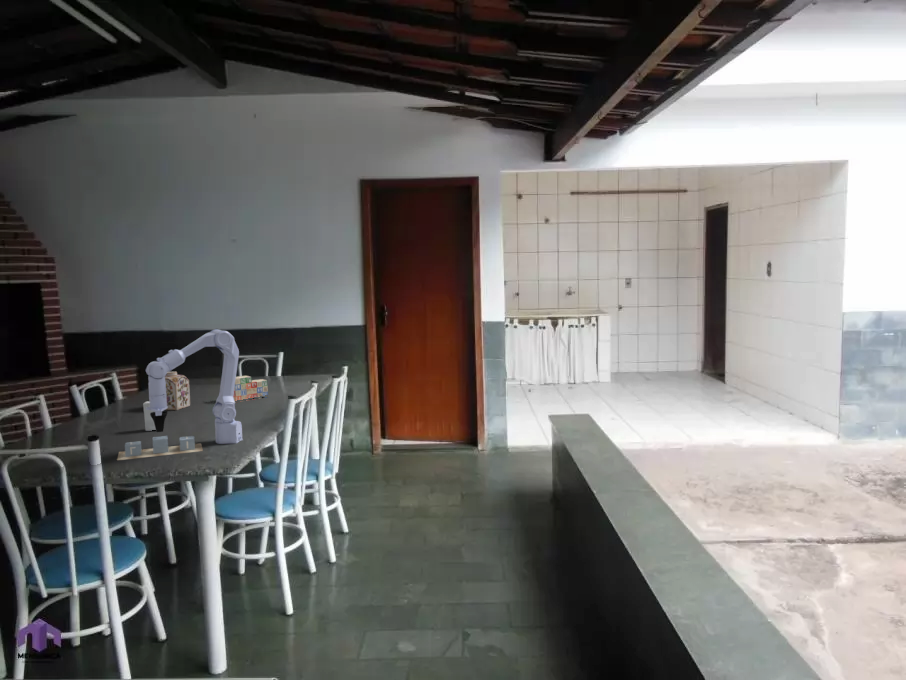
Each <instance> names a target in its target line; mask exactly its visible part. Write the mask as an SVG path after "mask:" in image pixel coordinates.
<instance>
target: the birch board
mask: <svg viewBox="0 0 906 680" xmlns="http://www.w3.org/2000/svg"><path fill="white" fill-rule="evenodd" d="M197 452H203V446H202V443H195V449H194V450H184V451H180V445H174V446H173V445H172V446H168V452H166V453H157V454H153V447H152V448H145V449H144V448H143V449H142V448H141V455H139V456H130V457H126V456H125V450H124V451H118V455H117V458H116V460H117V461H124V460H135V459H143V458H144V459H145V458H150V457H151V458H152V457H160V456H168V455H178V454H179V455H180V454H188V453H197Z"/></svg>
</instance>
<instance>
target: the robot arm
mask: <svg viewBox="0 0 906 680" xmlns="http://www.w3.org/2000/svg"><path fill="white" fill-rule="evenodd" d="M235 340H236V339H235V337H234V336H233V335H232V334H231V333H230V332H229V331H227V330H221V329H217V328H215V329H212V330H211V331H209V332H206V333H205V334H203V335H201V336H200V337H199V338H197V339H196V340H194V341H192V342H190V343H189V344H188V345H187V346H184V347H183V348H181V349H176V348H175V349H170V350H168V353H166V354H165V355H163V356H162V357H157V358H156V360H154V361H151V362H150V363H148V365H147V366H146V368H145V372H146V375H148V376H147V377H148V378H147V379H148V383H147V385H148V399H149V402H150V407H146V410H151V411H154V412H151V413H150V416H151V417H152V419H153V421H154V424H155V428H156V433H162V432H164V428H165V427H164V426H165V420H166V417H167V415H168V410H165V409H167V408H168V406H167V396H166V382H165V376H166V375H167V372H172V370H174V369H176V368H177V367H179V366H181V365H182V364H183V363H185V361H186V358H187V357H189V356H191V355H192V354H195V353H196V352H198V351H200V350H202V349H203V348H206V347H213V348H214V347H216V348H217V349H218V350H219V351H221V353H222V354H223V355H224V356H223V363H222V371H221V372H222V373H221V379H220V387H219V394H218V396H217V397H216V400H215V403H214V406H213V407H212V415H213V416H214V417H215V419H214V431H215V432H214V433H215V435H214V436H215V443H216V444H220V445H223V444H238V443H239V442H241V441H243V426H242V422H241V421H239V420H235V418H236V416H237V410H236V407H235V406H236V402H235V401H234V398H233V395H234V387H235V380H236V377H237V371H238V365H239V356H240V351H239V350H240V349H239V348H238V345H237V343H236V341H235Z"/></svg>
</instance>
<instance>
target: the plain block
mask: <svg viewBox="0 0 906 680" xmlns="http://www.w3.org/2000/svg"><path fill="white" fill-rule="evenodd" d="M168 447H169V438H168V435H162V436H153V437H152V448H153V454H157V453H166V452H168Z"/></svg>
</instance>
